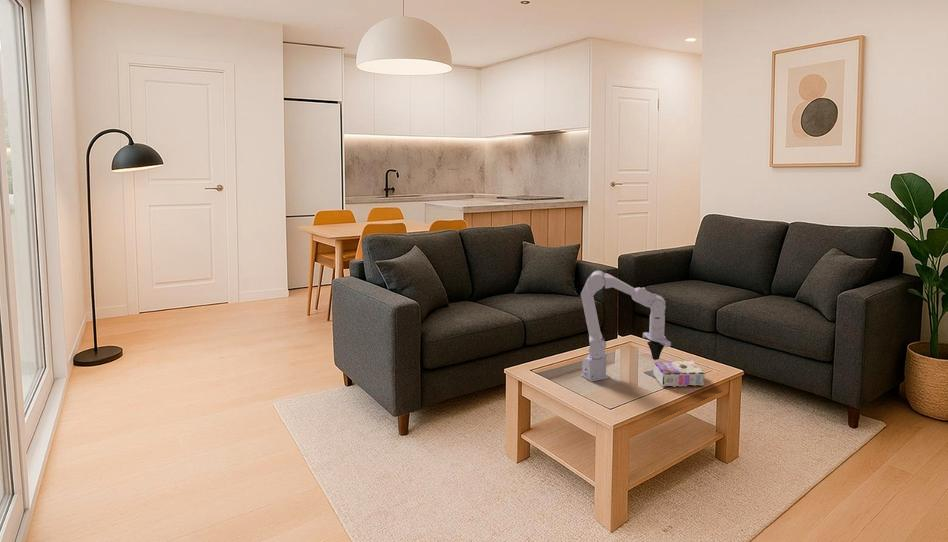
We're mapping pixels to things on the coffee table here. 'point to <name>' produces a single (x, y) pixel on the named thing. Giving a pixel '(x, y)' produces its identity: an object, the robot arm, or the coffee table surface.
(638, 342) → the coffee table surface
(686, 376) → the candy box
